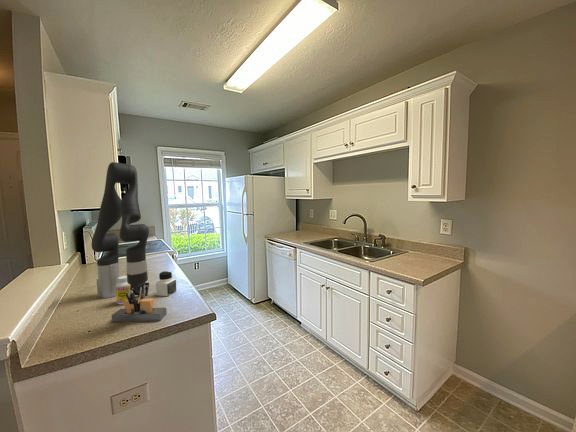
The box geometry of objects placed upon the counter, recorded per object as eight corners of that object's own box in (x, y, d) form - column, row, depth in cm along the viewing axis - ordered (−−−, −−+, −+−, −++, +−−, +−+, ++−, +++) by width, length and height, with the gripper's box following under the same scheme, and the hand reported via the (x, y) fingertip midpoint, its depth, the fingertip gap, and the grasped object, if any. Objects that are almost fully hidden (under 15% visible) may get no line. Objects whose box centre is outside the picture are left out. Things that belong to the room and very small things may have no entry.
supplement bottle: (116, 306, 120) (114, 280, 118) (118, 301, 125) (116, 276, 124) (132, 303, 123) (130, 277, 122) (133, 298, 128) (131, 274, 127)
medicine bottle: (168, 296, 130) (166, 274, 129) (156, 295, 132) (154, 273, 131) (176, 291, 137) (175, 270, 136) (165, 290, 139) (164, 269, 138)
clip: (125, 316, 106) (124, 301, 105) (129, 313, 109) (128, 298, 108) (151, 315, 106) (150, 301, 105) (154, 312, 109) (153, 298, 108)
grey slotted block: (112, 322, 104) (111, 315, 104) (121, 315, 110) (120, 308, 110) (160, 320, 105) (159, 314, 104) (166, 314, 111) (166, 307, 110)
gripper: (137, 266, 113) (140, 303, 114) (117, 276, 99) (120, 318, 100) (154, 266, 113) (156, 302, 114) (136, 276, 99) (139, 317, 100)
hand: (139, 309), depth 107 cm, fingers closed on clip, 3 cm apart
